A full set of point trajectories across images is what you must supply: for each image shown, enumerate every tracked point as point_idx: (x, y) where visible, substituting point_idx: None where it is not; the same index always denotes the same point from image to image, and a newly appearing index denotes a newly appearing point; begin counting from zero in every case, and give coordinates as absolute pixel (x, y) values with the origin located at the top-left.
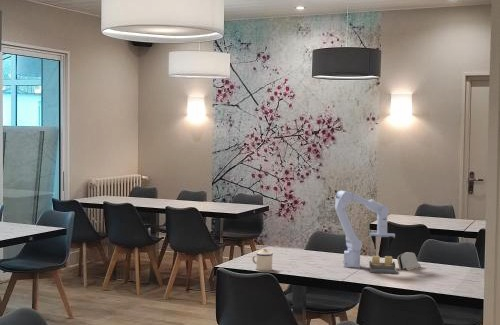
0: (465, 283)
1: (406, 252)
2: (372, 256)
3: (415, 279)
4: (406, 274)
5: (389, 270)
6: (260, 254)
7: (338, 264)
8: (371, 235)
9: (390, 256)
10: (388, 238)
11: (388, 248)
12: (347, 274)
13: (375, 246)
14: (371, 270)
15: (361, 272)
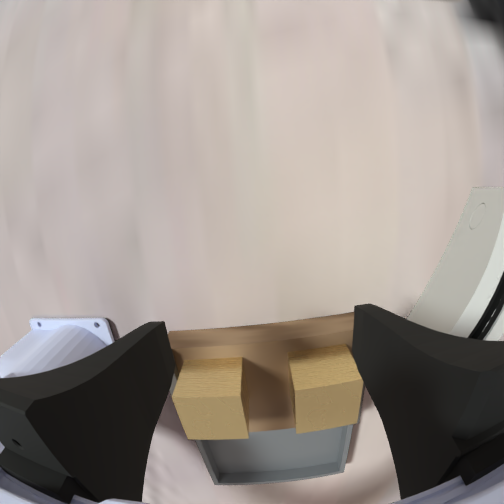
0: None
1: (500, 325)
2: (186, 434)
3: (389, 485)
4: (384, 446)
5: (310, 476)
6: None
7: (13, 315)
8: (19, 495)
9: (349, 388)
10: (453, 392)
11: (359, 366)
12: (144, 492)
13: (161, 398)
14: (221, 480)
15: (178, 471)
